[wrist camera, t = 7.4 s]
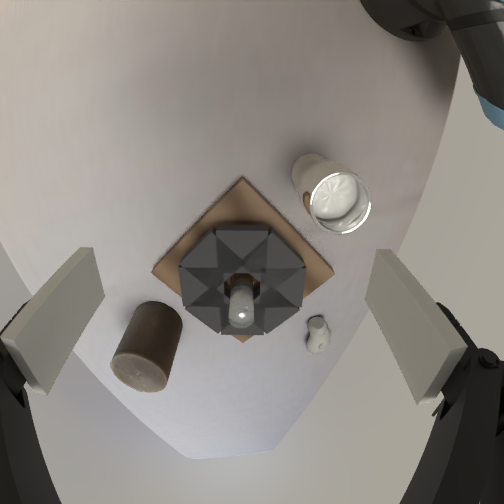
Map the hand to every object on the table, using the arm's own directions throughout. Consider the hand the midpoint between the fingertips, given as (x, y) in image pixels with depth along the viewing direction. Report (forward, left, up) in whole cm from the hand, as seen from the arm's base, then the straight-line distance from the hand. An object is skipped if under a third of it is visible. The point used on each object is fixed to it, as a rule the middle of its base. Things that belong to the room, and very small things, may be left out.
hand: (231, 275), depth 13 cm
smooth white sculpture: (+12, +32, -31) cm, 46 cm away
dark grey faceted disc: (+12, +12, -27) cm, 32 cm away
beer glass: (-6, +8, -31) cm, 32 cm away
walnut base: (+12, +12, -31) cm, 35 cm away
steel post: (+12, +12, -29) cm, 33 cm away
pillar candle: (+32, +9, -31) cm, 45 cm away
